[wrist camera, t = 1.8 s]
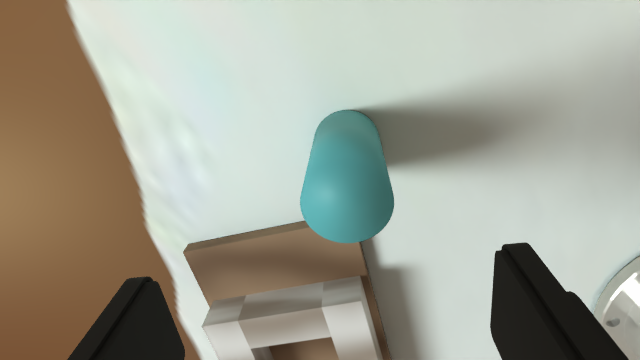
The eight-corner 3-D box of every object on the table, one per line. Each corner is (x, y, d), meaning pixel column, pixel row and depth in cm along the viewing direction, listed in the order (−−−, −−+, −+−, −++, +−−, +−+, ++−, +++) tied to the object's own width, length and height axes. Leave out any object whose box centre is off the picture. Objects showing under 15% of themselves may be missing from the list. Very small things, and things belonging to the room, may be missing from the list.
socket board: (403, 407, 34) (409, 450, 30) (273, 422, 36) (266, 463, 32) (352, 211, 26) (353, 240, 23) (188, 244, 28) (167, 275, 25)
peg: (392, 148, 24) (412, 213, 17) (339, 183, 25) (337, 257, 18) (353, 96, 23) (357, 141, 15) (301, 135, 24) (281, 194, 17)
